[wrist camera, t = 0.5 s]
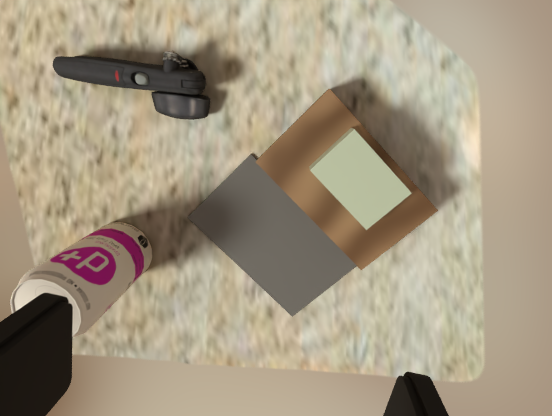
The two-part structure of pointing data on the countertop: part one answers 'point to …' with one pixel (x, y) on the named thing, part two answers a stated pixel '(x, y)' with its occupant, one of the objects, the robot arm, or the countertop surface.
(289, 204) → the mat
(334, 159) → the pale green flat block
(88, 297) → the supplement can
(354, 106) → the countertop surface
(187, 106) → the can opener
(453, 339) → the countertop surface
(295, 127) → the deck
